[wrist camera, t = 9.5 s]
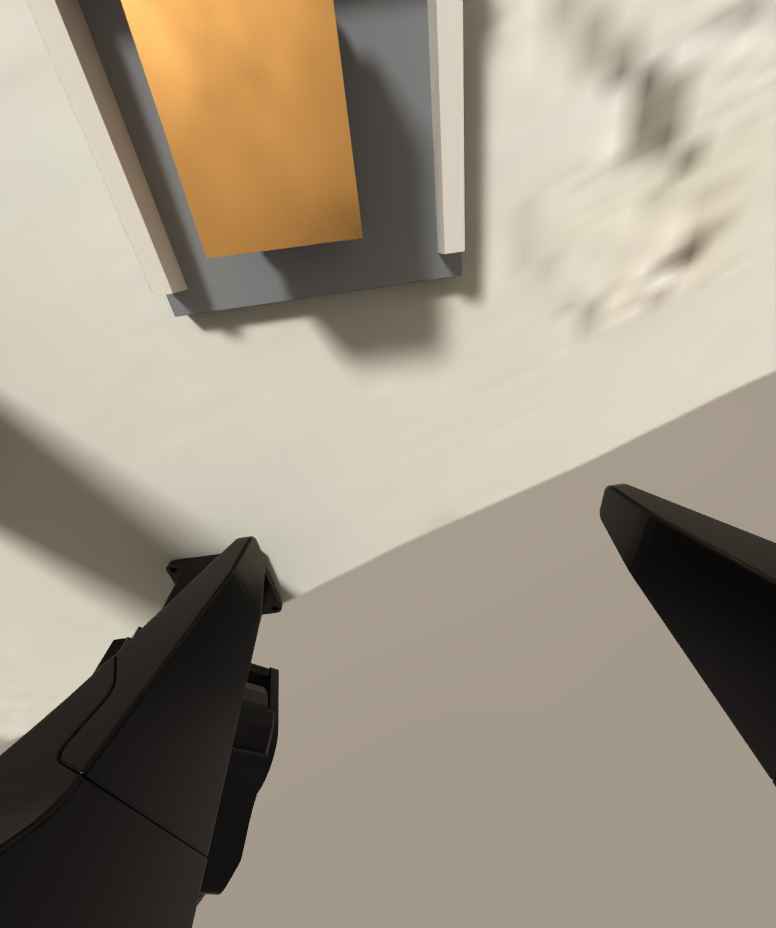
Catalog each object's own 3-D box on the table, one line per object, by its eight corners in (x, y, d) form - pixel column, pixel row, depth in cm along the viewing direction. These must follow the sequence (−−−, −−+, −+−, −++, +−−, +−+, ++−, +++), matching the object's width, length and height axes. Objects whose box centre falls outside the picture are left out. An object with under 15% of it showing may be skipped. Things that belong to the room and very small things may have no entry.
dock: (455, 273, 17) (472, 279, 14) (184, 312, 17) (153, 325, 15) (447, -124, 11) (474, -231, 9) (35, -61, 11) (-59, -149, 9)
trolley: (361, 238, 15) (362, 237, 11) (248, 253, 15) (206, 258, 11) (329, -21, 11) (311, -173, 7) (179, -1, 11) (74, -142, 7)
